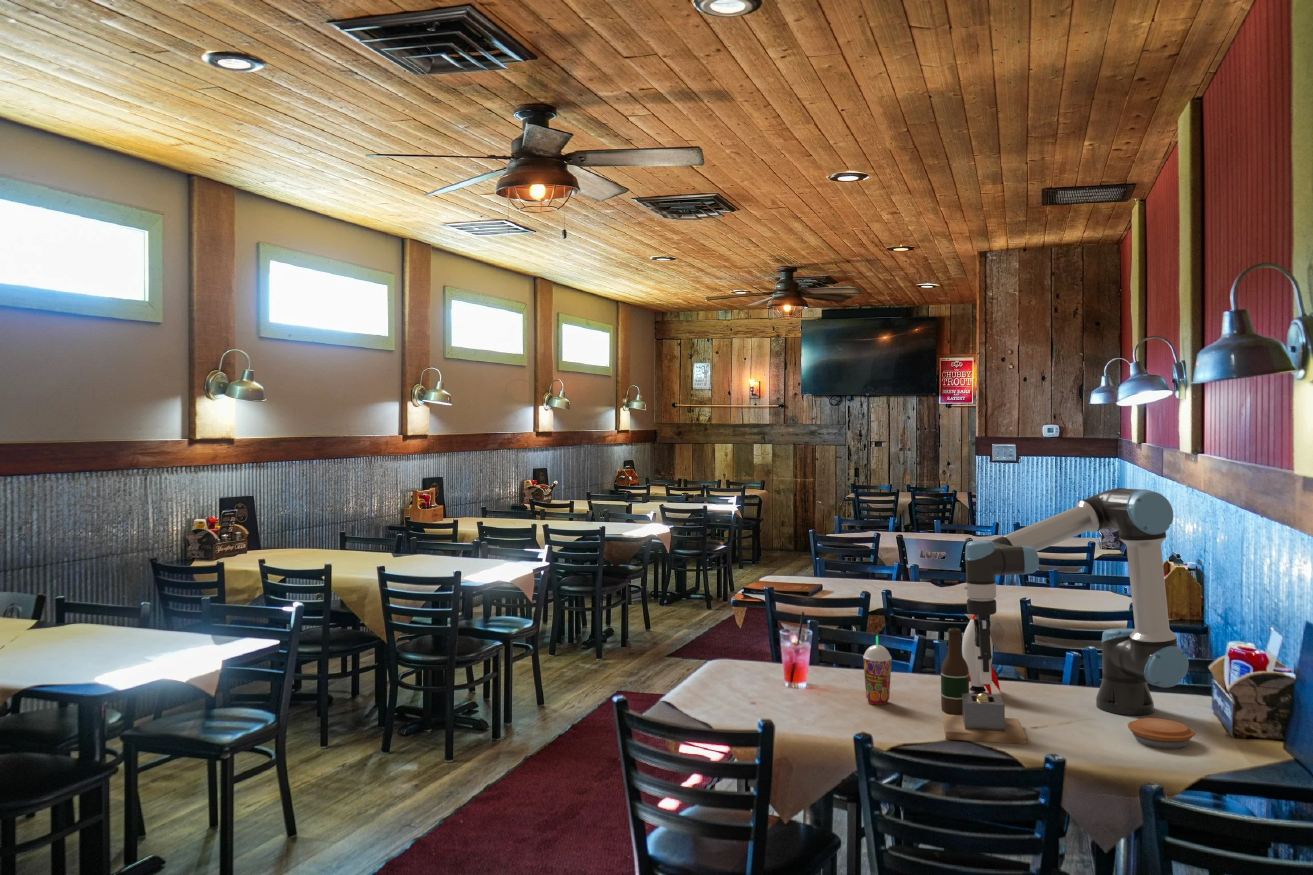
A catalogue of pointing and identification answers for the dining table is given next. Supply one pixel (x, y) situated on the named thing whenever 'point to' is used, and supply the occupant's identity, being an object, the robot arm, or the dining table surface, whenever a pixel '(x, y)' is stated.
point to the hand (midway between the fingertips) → (983, 677)
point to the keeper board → (983, 731)
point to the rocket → (970, 659)
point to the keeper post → (982, 697)
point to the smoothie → (877, 674)
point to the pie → (1161, 733)
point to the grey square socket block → (983, 713)
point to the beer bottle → (954, 675)
